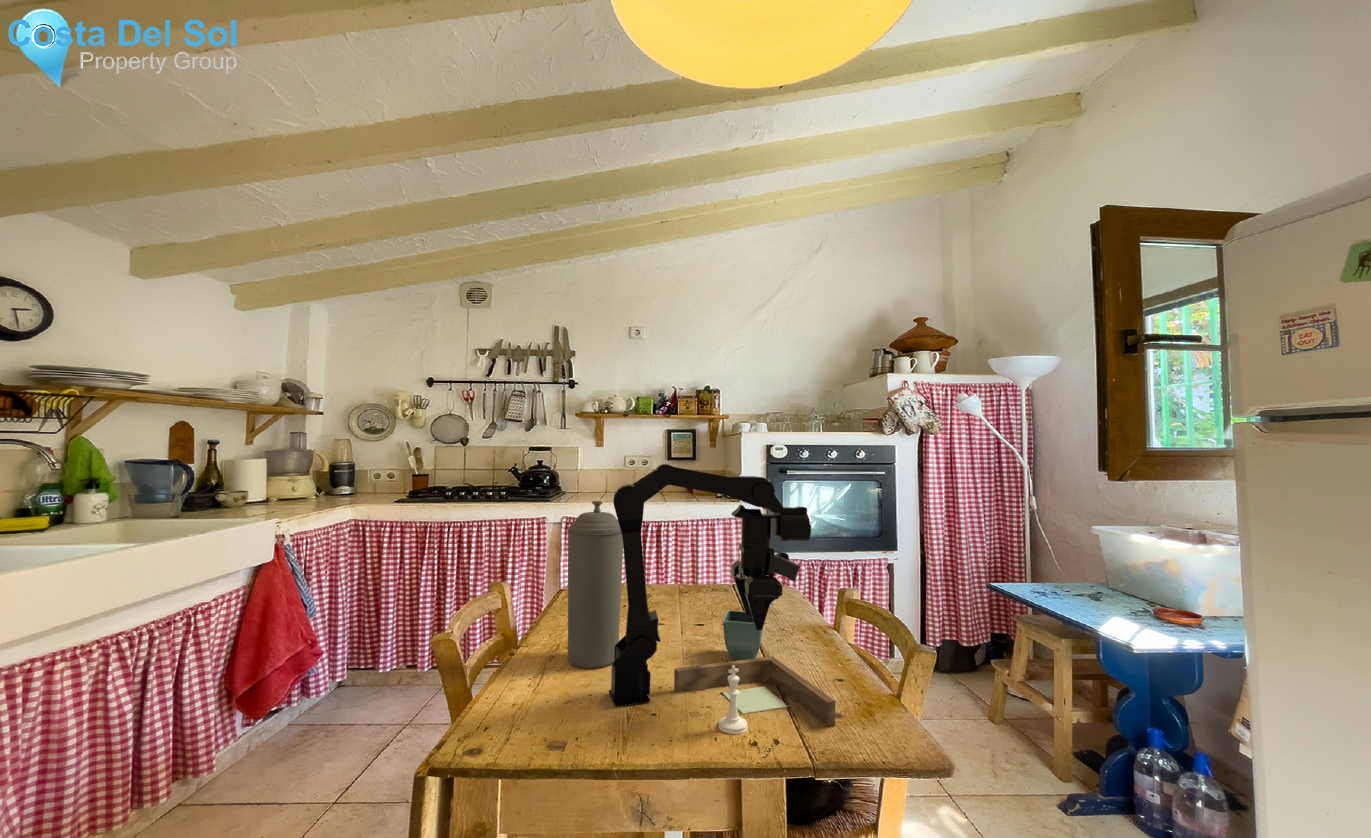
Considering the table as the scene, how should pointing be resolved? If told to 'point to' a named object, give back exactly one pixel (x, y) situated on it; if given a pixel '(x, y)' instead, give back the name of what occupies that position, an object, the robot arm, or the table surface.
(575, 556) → the canister
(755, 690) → the pad
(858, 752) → the table surface
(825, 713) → the corner wall
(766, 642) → the table surface
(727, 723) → the chess piece
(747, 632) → the flower pot
